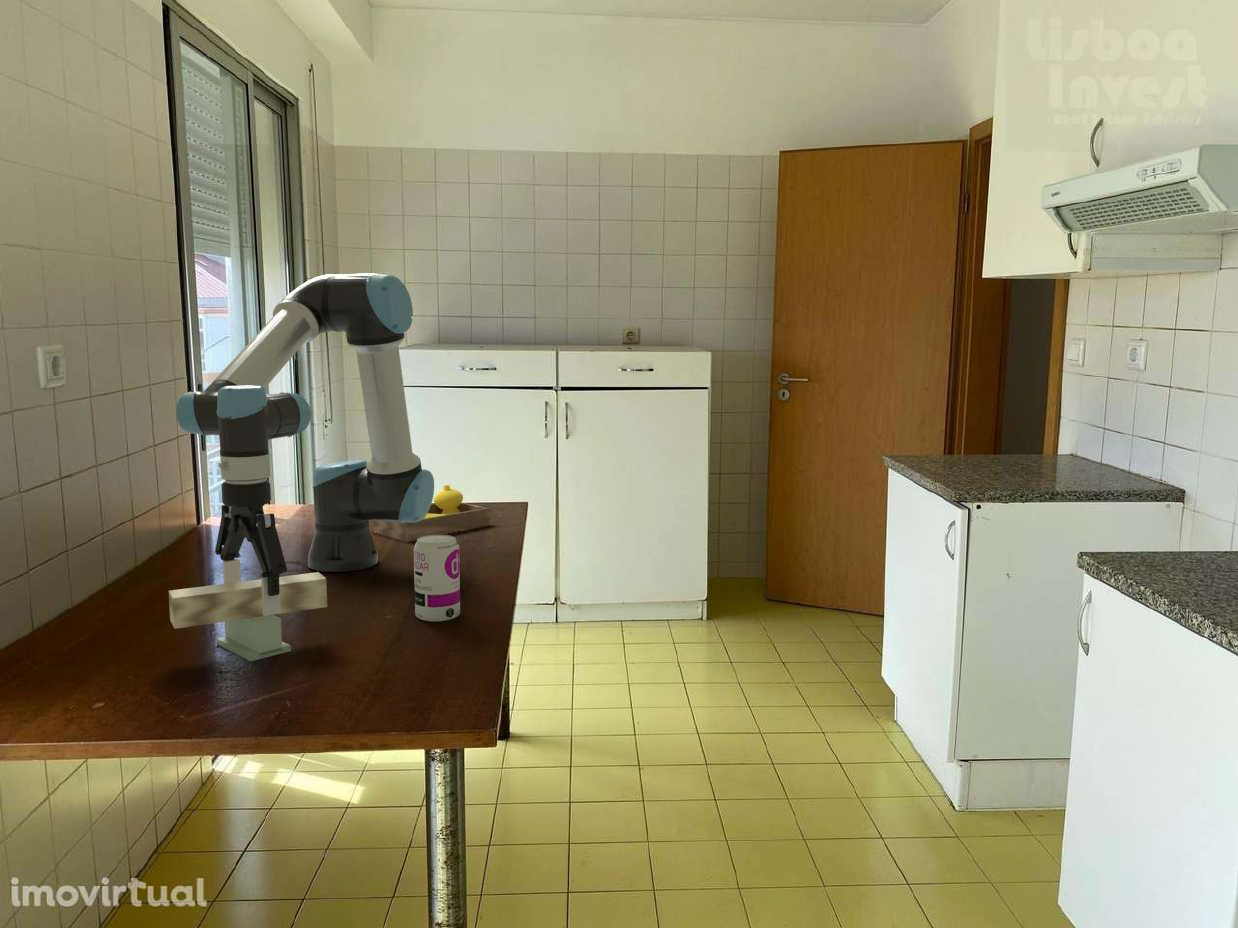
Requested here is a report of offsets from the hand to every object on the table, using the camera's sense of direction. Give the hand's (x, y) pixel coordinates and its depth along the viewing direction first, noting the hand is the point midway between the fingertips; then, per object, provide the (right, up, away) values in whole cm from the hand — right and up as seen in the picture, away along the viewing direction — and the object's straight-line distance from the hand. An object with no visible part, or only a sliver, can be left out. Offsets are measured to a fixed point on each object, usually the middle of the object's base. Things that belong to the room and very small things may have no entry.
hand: (252, 605), depth 161 cm
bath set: (+13, +6, +95) cm, 96 cm away
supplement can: (+28, -5, +19) cm, 34 cm away
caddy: (+12, +6, +91) cm, 92 cm away
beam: (0, -1, 0) cm, 1 cm away
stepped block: (0, -7, +1) cm, 7 cm away
